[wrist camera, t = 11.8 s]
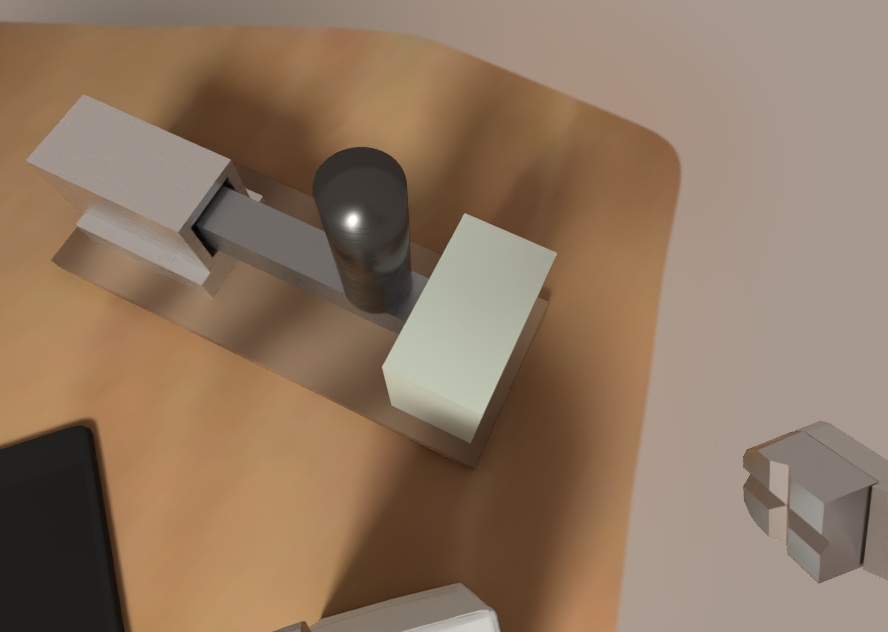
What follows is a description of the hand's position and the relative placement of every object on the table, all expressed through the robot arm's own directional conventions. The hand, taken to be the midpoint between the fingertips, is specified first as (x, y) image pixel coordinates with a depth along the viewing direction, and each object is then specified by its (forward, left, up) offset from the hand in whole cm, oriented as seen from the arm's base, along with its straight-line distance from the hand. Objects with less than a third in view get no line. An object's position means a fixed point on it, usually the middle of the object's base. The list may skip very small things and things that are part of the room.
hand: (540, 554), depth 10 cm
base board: (-14, +9, -21) cm, 27 cm away
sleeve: (-22, +9, -20) cm, 31 cm away
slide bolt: (-11, +9, -17) cm, 22 cm away
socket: (-4, +9, -20) cm, 22 cm away
